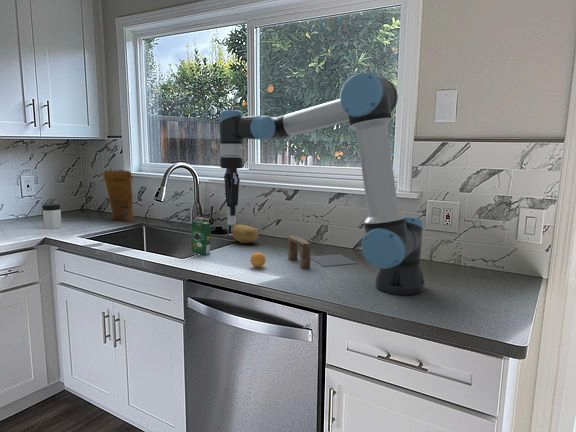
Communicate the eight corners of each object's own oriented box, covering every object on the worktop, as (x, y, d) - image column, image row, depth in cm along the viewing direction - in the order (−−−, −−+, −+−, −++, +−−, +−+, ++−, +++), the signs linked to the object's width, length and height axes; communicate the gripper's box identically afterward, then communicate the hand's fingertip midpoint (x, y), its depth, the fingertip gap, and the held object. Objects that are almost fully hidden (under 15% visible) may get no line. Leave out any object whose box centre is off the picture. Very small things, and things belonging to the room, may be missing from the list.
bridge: (295, 258, 175) (295, 235, 174) (310, 268, 162) (310, 243, 160) (288, 258, 174) (288, 235, 172) (302, 269, 161) (302, 244, 159)
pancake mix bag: (129, 222, 244) (126, 171, 240) (104, 219, 253) (101, 170, 248) (138, 220, 250) (136, 170, 246) (113, 217, 259) (111, 169, 254)
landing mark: (357, 263, 169) (357, 263, 169) (323, 266, 164) (323, 266, 164) (340, 254, 182) (340, 254, 182) (308, 257, 177) (308, 256, 177)
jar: (55, 225, 235) (53, 202, 233) (65, 226, 231) (64, 203, 229) (39, 228, 227) (37, 204, 225) (49, 229, 223) (47, 206, 221)
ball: (267, 268, 161) (267, 253, 160) (252, 269, 159) (252, 254, 158) (262, 264, 166) (262, 250, 165) (248, 265, 164) (248, 251, 163)
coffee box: (211, 254, 180) (210, 222, 178) (206, 255, 177) (205, 223, 175) (196, 251, 184) (196, 220, 182) (191, 252, 182) (191, 221, 179)
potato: (248, 247, 192) (248, 229, 191) (227, 242, 201) (226, 224, 200) (264, 243, 199) (264, 226, 198) (242, 238, 208) (242, 222, 207)
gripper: (247, 157, 148) (247, 227, 151) (237, 155, 160) (237, 220, 164) (224, 157, 145) (225, 228, 149) (216, 155, 157) (217, 221, 161)
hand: (231, 224), depth 156 cm, fingers closed
